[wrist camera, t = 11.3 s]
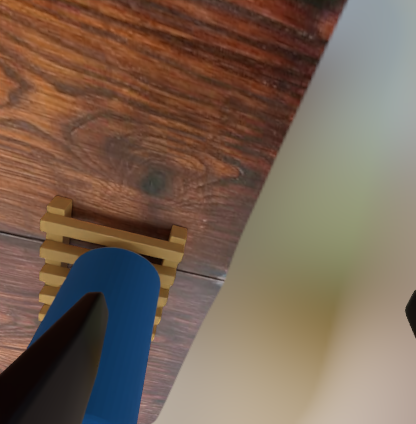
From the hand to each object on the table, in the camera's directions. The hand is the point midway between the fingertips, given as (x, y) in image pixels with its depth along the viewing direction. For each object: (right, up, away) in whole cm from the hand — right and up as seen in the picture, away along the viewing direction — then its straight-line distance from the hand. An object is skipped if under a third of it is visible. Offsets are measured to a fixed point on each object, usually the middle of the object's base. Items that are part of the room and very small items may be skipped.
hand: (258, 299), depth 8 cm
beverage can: (-8, -2, +14) cm, 16 cm away
